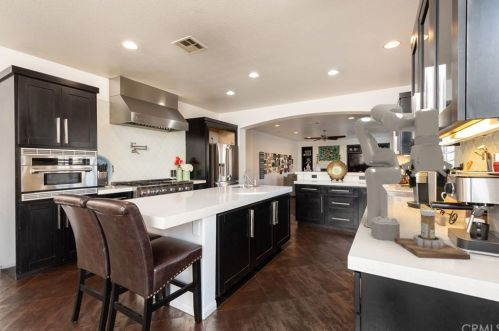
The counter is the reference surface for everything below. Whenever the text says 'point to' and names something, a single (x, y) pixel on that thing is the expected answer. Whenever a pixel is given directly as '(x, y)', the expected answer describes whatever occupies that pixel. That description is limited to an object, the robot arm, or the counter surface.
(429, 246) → the socket ring
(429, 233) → the sprinkles bottle
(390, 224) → the lumpy-topped squat cylinder
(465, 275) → the counter surface
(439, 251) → the walnut board
